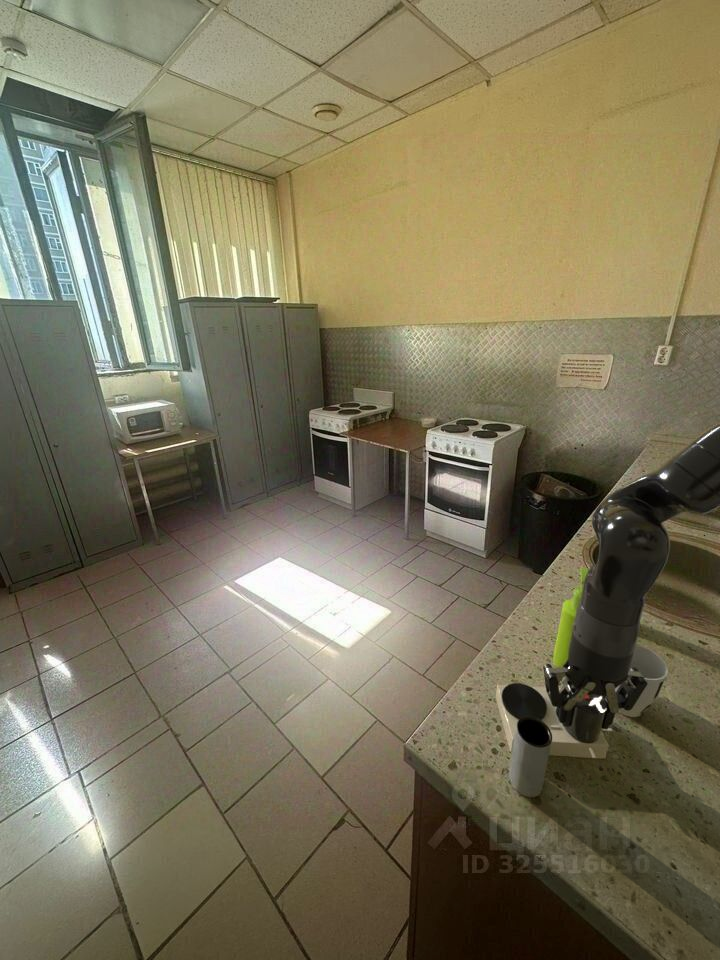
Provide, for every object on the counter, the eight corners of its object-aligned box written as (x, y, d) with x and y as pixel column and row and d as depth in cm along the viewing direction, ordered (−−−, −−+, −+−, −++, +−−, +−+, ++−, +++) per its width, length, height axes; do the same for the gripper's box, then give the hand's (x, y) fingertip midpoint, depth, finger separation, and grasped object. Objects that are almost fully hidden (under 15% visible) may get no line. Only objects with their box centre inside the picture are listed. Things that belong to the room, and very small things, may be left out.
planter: (531, 762, 60) (540, 713, 56) (548, 794, 56) (559, 744, 52) (503, 767, 59) (510, 718, 56) (518, 800, 55) (527, 750, 51)
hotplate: (538, 686, 69) (538, 684, 69) (553, 723, 62) (553, 721, 62) (497, 684, 69) (497, 682, 69) (507, 721, 63) (507, 718, 63)
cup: (654, 734, 63) (670, 687, 60) (597, 711, 67) (608, 666, 64) (651, 696, 70) (665, 652, 66) (599, 677, 74) (609, 635, 70)
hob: (586, 701, 69) (589, 688, 68) (623, 774, 58) (628, 759, 57) (495, 697, 70) (497, 684, 69) (514, 767, 59) (516, 752, 58)
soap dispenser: (585, 653, 79) (604, 569, 72) (587, 679, 73) (608, 590, 66) (553, 645, 82) (568, 562, 74) (552, 669, 76) (569, 582, 69)
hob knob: (604, 745, 59) (613, 715, 57) (569, 741, 59) (576, 711, 57) (591, 715, 63) (598, 686, 61) (558, 712, 64) (564, 683, 62)
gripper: (560, 653, 52) (543, 743, 58) (675, 658, 51) (645, 749, 57) (540, 615, 59) (527, 699, 65) (641, 618, 58) (618, 703, 64)
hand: (582, 722), depth 61 cm, fingers closed on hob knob, 5 cm apart
